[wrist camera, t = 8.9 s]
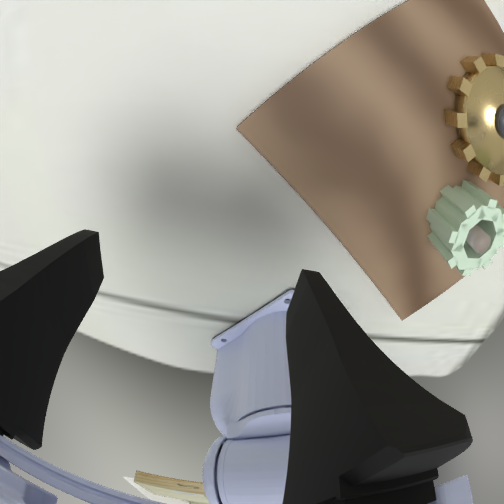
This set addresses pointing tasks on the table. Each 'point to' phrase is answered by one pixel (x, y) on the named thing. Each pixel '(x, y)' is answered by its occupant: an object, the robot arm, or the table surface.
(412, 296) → the gear board
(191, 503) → the reusable coffee cup
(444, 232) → the pale green gear
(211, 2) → the table surface
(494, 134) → the brass gear
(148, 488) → the puzzle box
